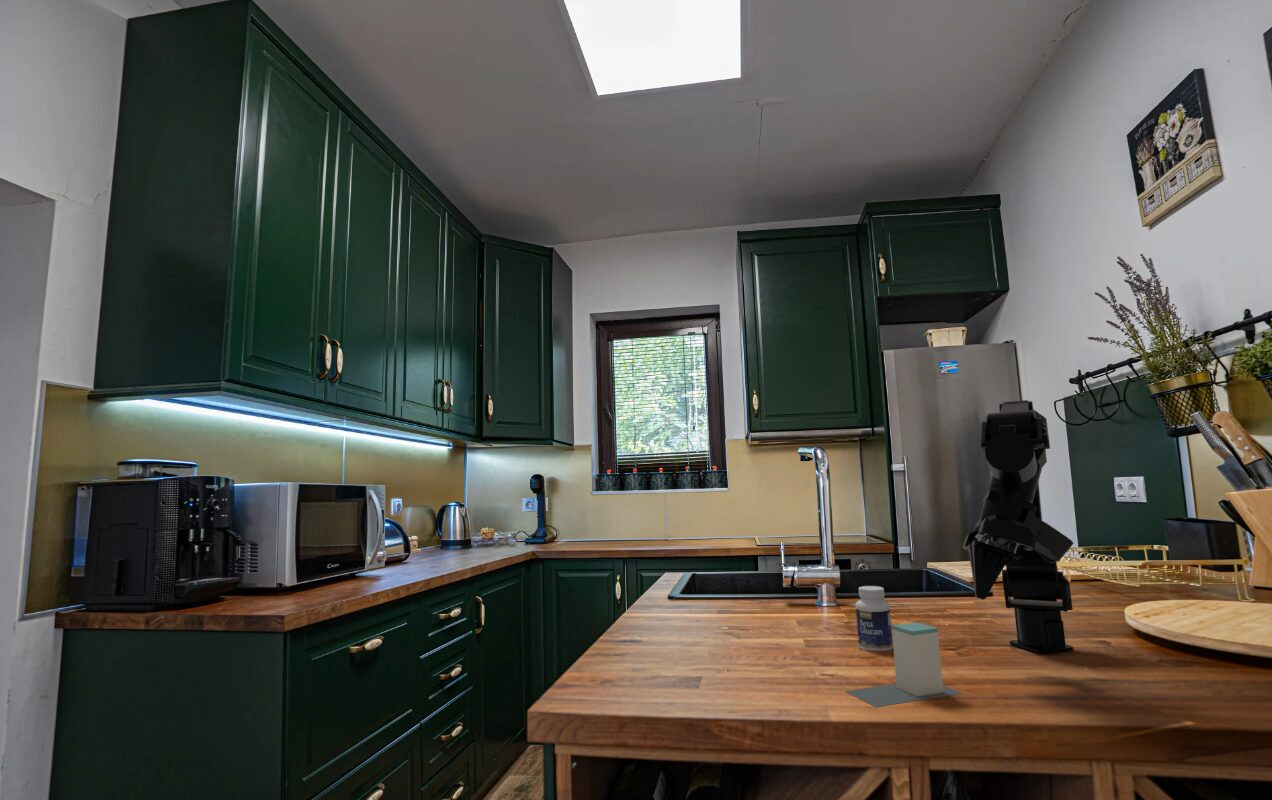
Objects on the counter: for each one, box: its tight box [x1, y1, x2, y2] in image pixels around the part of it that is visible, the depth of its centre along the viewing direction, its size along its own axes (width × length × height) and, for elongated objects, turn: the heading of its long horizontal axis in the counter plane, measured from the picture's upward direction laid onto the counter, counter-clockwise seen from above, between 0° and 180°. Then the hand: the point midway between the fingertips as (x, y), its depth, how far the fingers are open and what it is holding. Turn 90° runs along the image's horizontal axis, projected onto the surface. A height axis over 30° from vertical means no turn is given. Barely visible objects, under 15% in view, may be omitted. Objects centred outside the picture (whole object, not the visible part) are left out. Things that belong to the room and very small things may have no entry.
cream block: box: [891, 622, 944, 696], centre depth 87 cm, size 4×4×8 cm
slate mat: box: [844, 683, 964, 708], centre depth 86 cm, size 13×7×1 cm, turn 106°
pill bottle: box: [855, 585, 894, 652], centre depth 110 cm, size 5×5×10 cm
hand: (979, 598), depth 92 cm, fingers closed
